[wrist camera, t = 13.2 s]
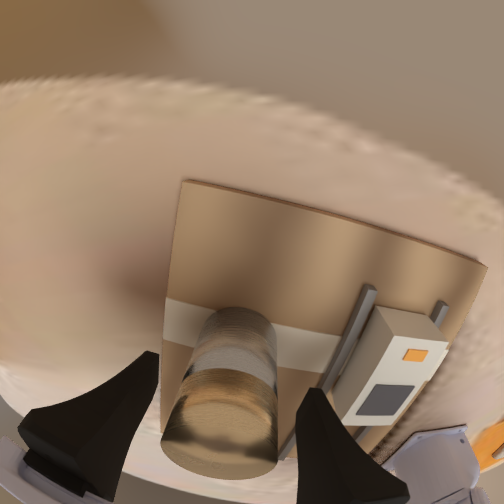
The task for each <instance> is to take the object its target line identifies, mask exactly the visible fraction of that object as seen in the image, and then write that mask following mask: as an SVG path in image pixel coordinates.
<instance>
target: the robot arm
mask: <svg viewBox="0 0 504 504" xmlns="http://www.w3.org/2000/svg"><path fill="white" fill-rule="evenodd" d="M158 376H159V354H157V353H154V352H150V351H145V352H144V353H143V354H142V355H141V356H140V357H138V358H137V359H136V360H135V361H134V362H132V363H131V364H130V365H129V366H128V367H126V368H125V369H124V370H122V371H121V372H120V373H118V374H117V375H116V376H114V377H113V378H111V379H110V380H108V381H107V382H105V383H103V384H102V385H100V386H98V387H97V388H95V389H93V390H91V391H89V392H87V393H85V394H83V395H80V396H78V397H76V398H73V399H71V400H68V401H65V402H62V403H59V404H55V405H52V406H47V407H42V408H36V409H32V410H31V411H30V412H29V413H28V414H27V415H26V416H25V418H24V419H23V420H22V422H21V423H20V425H19V426H18V432H19V434H20V436H21V437H22V438H23V440H24V441H25V443H26V444H27V446H28V447H29V448H30V449H29V450H28V452H25V450H24V449H22V448H21V447H20V446H19V445H17V444H16V443H15V442H13V441H12V440H11V439H9V438H8V437H7V436H3V437H2V439H1V440H0V485H1V486H2V487H3V488H4V489H5V490H7V491H8V492H9V493H10V494H12V495H13V496H14V497H16V498H17V499H18V500H20V501H21V502H22V503H24V504H114V503H112V502H113V501H114V497H115V492H116V489H117V485H118V481H119V478H120V474H121V471H122V468H123V465H124V461H125V458H126V455H127V452H128V450H129V447H130V444H131V441H132V439H133V437H134V434H135V432H136V430H137V428H138V426H139V424H140V422H141V421H142V419H143V417H144V415H145V413H146V411H147V409H148V407H149V405H150V403H151V401H152V399H153V396H154V394H155V391H156V388H157V385H158ZM467 428H468V427H467V425H464V426H459V427H454V428H448V429H442V430H435V431H427V432H419V433H415V434H413V435H412V436H411V437H410V438H409V439H408V440H407V441H406V442H405V444H404V445H403V446H402V447H401V448H400V449H399V450H398V451H397V452H396V453H395V454H393V455H392V456H391V457H390V458H389V459H388V460H387V461H386V462H385V463H384V464H383V465H382V466H380V465H379V464H378V463H376V462H375V461H374V460H373V459H372V458H371V457H370V456H369V455H368V454H367V453H366V452H365V451H364V450H363V449H362V448H361V447H360V446H359V445H358V443H357V442H356V441H355V440H354V439H353V437H352V436H351V435H350V433H349V432H348V431H347V429H346V428H345V427H344V425H343V424H342V422H341V420H340V419H339V417H338V416H337V414H336V412H335V411H334V409H333V407H332V406H331V404H330V402H329V401H328V399H327V397H326V395H325V394H324V392H323V390H322V389H321V388H313V387H310V388H309V389H308V391H307V393H306V395H305V397H304V399H303V401H302V403H301V404H300V406H299V408H298V410H297V412H296V422H295V435H296V446H297V458H298V491H297V502H296V504H491V503H490V501H489V498H488V496H487V494H486V492H485V491H484V489H483V488H481V487H474V486H475V485H476V483H477V481H478V479H479V475H480V466H479V463H478V460H477V458H476V456H475V454H474V452H473V450H472V448H471V446H470V443H469V441H468V439H467V437H466V435H465V433H464V432H465V431H466V430H467ZM390 470H395V473H396V477H395V476H394V475H392V474H391V473H389V472H388V471H390Z"/></svg>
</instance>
